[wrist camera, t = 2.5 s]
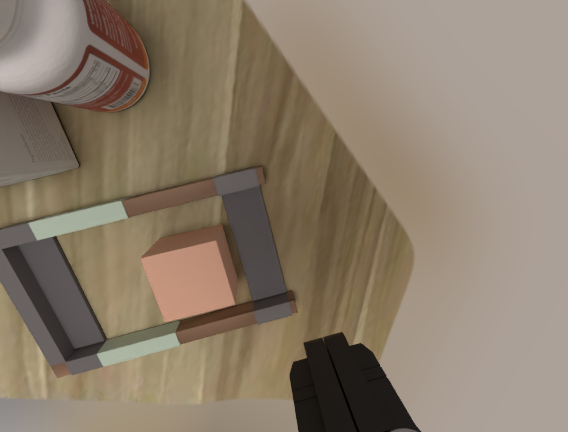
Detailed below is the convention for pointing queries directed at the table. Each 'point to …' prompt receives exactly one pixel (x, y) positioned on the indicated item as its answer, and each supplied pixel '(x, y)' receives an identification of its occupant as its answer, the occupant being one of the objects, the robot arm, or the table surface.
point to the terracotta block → (191, 272)
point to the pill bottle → (71, 54)
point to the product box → (31, 140)
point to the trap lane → (100, 352)
